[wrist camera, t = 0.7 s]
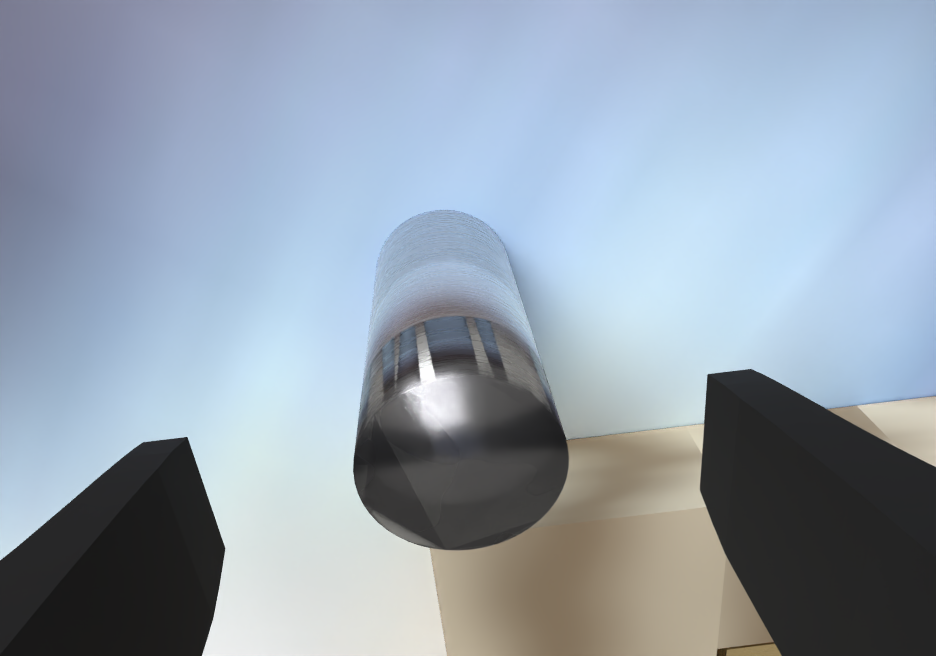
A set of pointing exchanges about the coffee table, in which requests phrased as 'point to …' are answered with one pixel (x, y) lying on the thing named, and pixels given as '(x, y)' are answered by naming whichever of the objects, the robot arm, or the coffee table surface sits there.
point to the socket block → (626, 554)
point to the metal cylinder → (454, 393)
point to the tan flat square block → (750, 650)
